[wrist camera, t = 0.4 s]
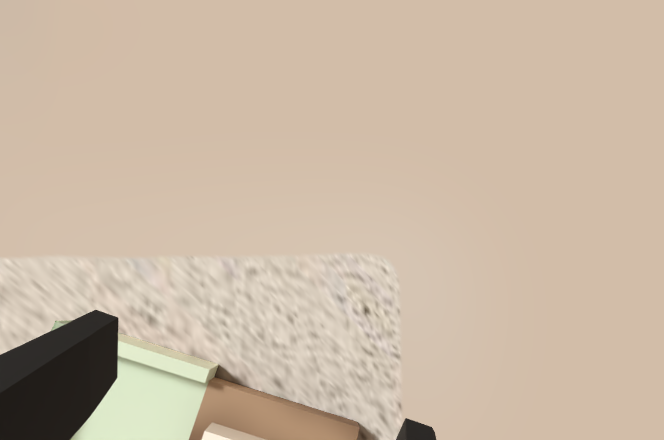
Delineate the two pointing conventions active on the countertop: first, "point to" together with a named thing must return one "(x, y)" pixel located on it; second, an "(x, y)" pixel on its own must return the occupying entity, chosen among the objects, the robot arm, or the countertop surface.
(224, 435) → the tile
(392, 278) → the countertop surface
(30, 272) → the countertop surface
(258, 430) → the board
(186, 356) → the tray
